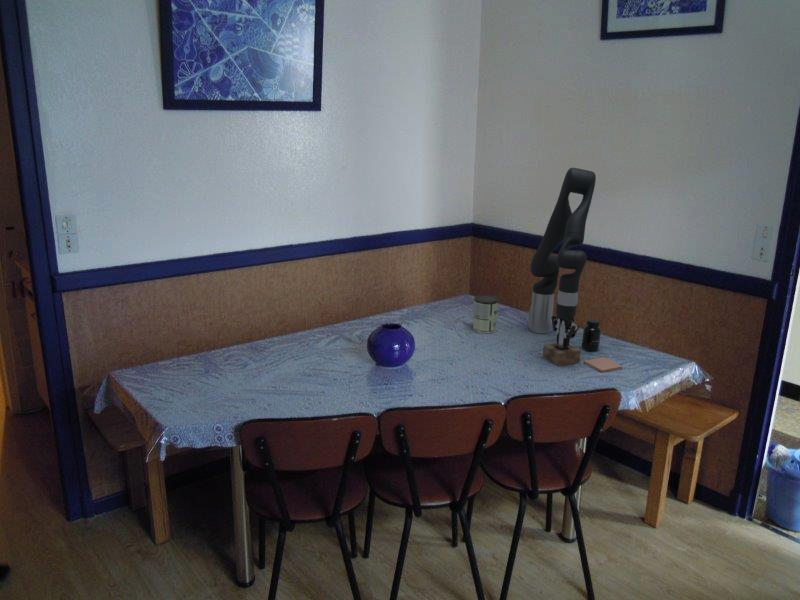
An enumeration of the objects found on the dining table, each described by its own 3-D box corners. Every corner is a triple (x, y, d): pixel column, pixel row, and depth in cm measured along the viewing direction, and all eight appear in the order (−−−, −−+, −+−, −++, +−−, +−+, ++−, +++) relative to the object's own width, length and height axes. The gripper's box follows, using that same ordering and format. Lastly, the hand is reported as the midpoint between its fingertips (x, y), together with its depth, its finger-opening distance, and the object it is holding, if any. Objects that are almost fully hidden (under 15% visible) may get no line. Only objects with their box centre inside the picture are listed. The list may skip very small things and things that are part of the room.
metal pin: (554, 359, 266) (558, 320, 262) (561, 358, 268) (565, 319, 263) (560, 362, 264) (564, 323, 259) (566, 360, 265) (571, 322, 260)
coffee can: (474, 324, 303) (476, 293, 299) (497, 326, 301) (499, 295, 297) (470, 332, 293) (472, 300, 289) (495, 334, 291) (497, 302, 287)
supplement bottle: (594, 353, 274) (598, 324, 270) (578, 349, 278) (581, 320, 274) (601, 348, 279) (604, 320, 275) (585, 344, 283) (588, 316, 279)
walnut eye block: (542, 357, 268) (543, 345, 266) (562, 353, 272) (563, 341, 271) (558, 366, 259) (560, 354, 258) (579, 362, 264) (581, 350, 262)
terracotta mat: (583, 363, 263) (583, 360, 263) (603, 359, 268) (603, 357, 267) (601, 372, 255) (602, 370, 254) (622, 368, 259) (622, 366, 259)
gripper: (547, 298, 263) (543, 340, 268) (571, 308, 251) (566, 352, 256) (562, 296, 266) (558, 338, 271) (587, 306, 254) (582, 350, 260)
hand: (562, 345), depth 264 cm, fingers closed on metal pin, 3 cm apart
